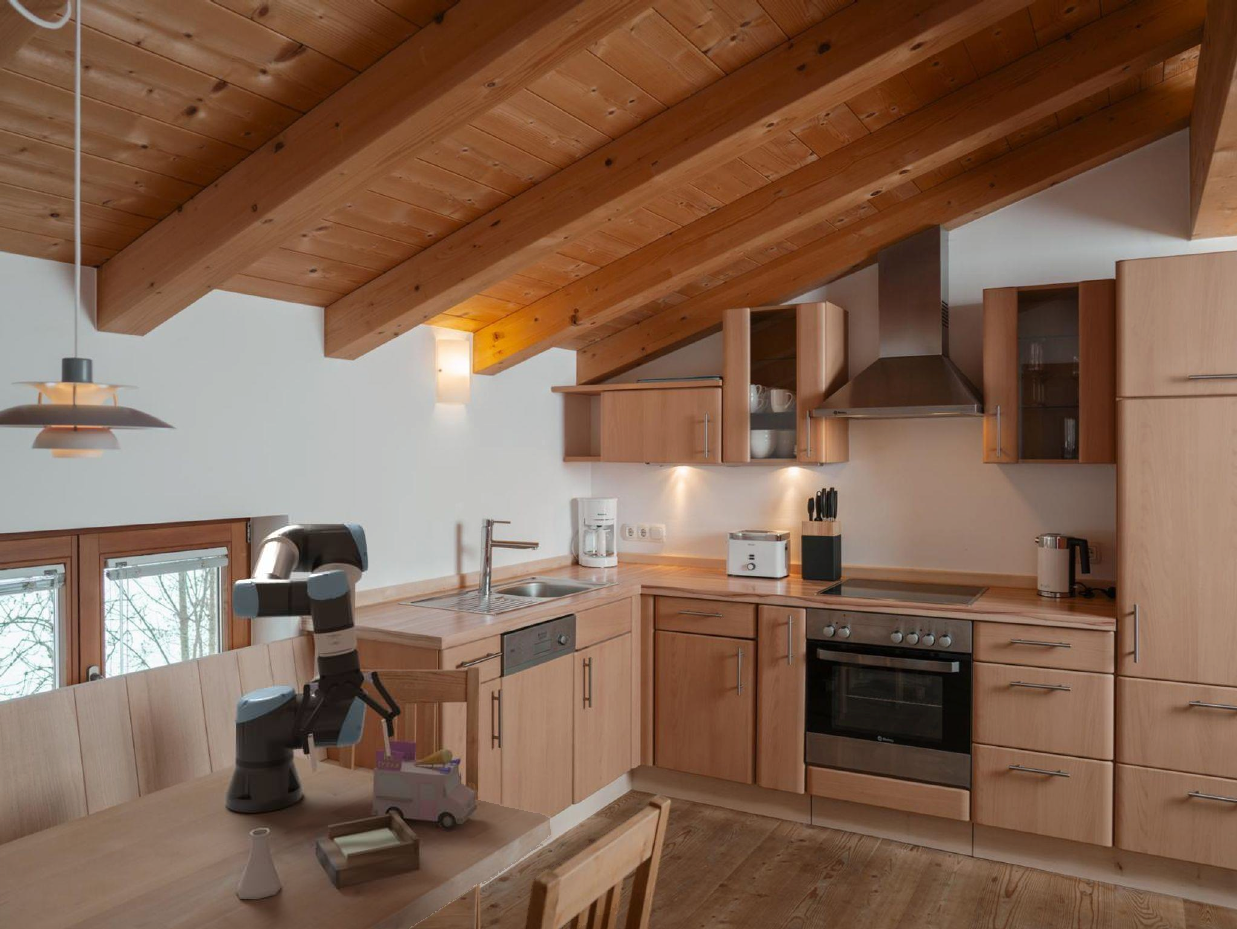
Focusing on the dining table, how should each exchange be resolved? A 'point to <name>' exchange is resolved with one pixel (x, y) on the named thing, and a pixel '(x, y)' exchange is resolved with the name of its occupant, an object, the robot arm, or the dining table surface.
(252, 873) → the flask
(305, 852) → the dining table surface
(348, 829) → the dock
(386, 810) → the toy vehicle
